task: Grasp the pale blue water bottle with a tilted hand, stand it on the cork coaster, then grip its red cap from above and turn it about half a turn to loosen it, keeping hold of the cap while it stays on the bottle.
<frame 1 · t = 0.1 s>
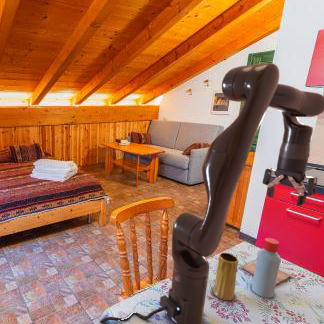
hand: (284, 201, 87), 29 cm above the table, tool pointing down, fingers open, 8 cm apart
cap: (271, 241, 80), point 19 cm above the table, screwed on, not yet turned
bottle: (262, 291, 85), on the table
vase: (223, 294, 84), on the table
coaster: (265, 272, 94), on the table
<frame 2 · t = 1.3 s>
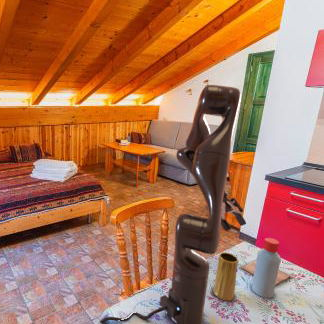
hand: (236, 227, 91), 19 cm above the table, tool tilted 45°, fingers open, 8 cm apart
nothing on the table moved.
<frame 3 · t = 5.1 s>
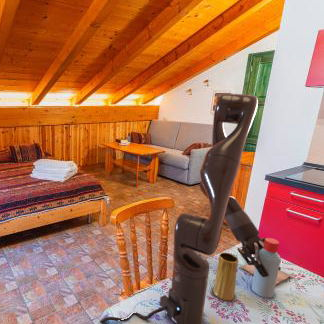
hand: (271, 273, 82), 8 cm above the table, tool tilted 45°, fingers closed on bottle, 6 cm apart
bottle: (262, 291, 85), on the table, touching gripper
everything else where it was.
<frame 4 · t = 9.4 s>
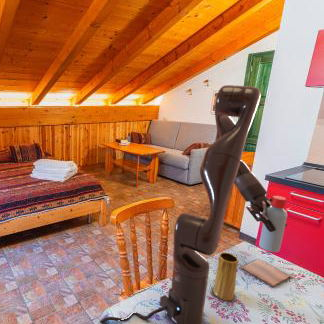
hand: (278, 228, 87), 20 cm above the table, tool tilted 45°, fingers closed on bottle, 6 cm apart
cap: (279, 198, 85), point 31 cm above the table, screwed on, not yet turned
bottle: (269, 247, 90), point 12 cm above the table, touching gripper
everything else where it was.
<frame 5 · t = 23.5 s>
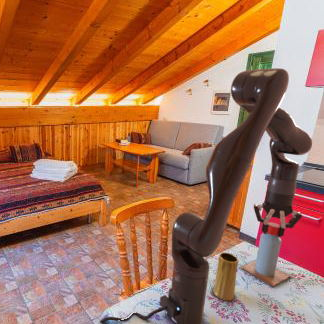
hand: (271, 234, 90), 16 cm above the table, tool pointing down, fingers closed on bottle, cap, 3 cm apart
cap: (273, 225, 89), point 20 cm above the table, screwed on, not yet turned, touching gripper
bottle: (264, 271, 94), point 1 cm above the table, touching coaster, gripper
everything else where it was.
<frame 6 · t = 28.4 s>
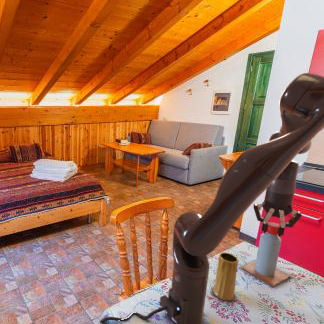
hand: (271, 233, 90), 16 cm above the table, tool pointing down, fingers closed on cap, 3 cm apart
cap: (273, 225, 89), point 20 cm above the table, turned 179° so far, risen 0.2 cm, still on its thread, touching gripper
bottle: (264, 271, 94), point 1 cm above the table, touching coaster
everything else where it was.
at the end: bottle inside the target area on the coaster (0.3 cm from its centre), point 0.5 cm above the coaster's base; cap turned 0.50 turns (still on its thread) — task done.
